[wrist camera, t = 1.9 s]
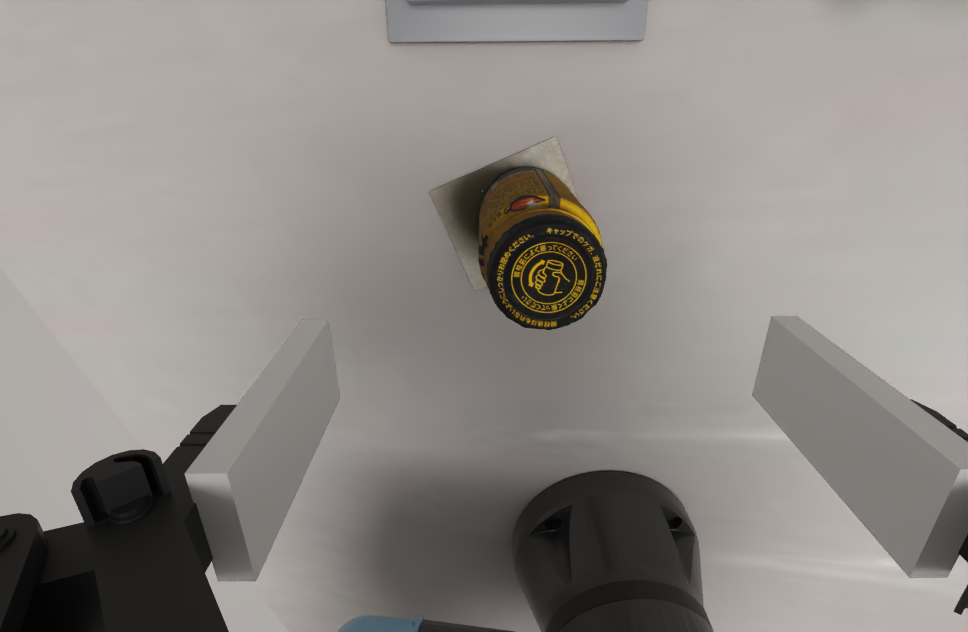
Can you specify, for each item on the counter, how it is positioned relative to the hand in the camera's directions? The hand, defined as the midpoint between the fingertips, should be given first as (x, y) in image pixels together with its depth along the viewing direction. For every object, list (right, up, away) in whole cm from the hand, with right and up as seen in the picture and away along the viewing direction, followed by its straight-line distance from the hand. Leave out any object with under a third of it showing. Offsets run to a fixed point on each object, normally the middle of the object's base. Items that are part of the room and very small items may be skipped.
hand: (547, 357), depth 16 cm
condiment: (0, +8, +18) cm, 19 cm away
